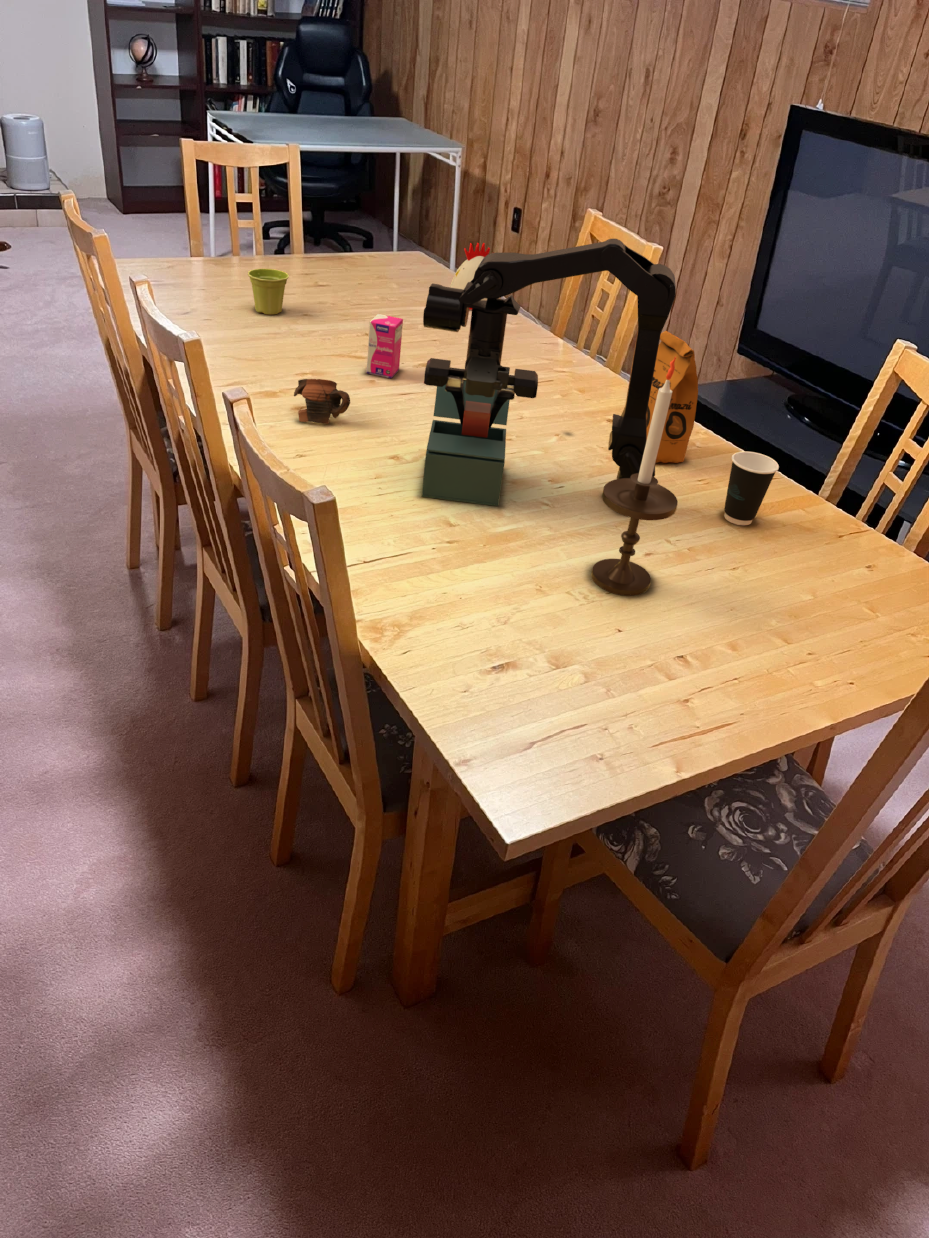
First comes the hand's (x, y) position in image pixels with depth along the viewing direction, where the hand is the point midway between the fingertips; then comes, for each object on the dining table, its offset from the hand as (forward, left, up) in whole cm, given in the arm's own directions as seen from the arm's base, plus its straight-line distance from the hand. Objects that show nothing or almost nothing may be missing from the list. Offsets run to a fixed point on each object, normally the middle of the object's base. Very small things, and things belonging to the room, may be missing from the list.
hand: (475, 425), depth 167 cm
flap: (+6, -1, +2) cm, 6 cm away
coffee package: (+8, -40, -10) cm, 42 cm away
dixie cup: (-19, -43, -10) cm, 49 cm away
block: (0, 0, -1) cm, 1 cm away
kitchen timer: (+97, -31, -10) cm, 103 cm away
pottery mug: (+27, +22, -10) cm, 36 cm away
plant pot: (+88, +24, -10) cm, 91 cm away
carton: (-2, +2, -10) cm, 10 cm away
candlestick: (-35, -13, -10) cm, 39 cm away
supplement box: (+49, +5, -10) cm, 50 cm away
